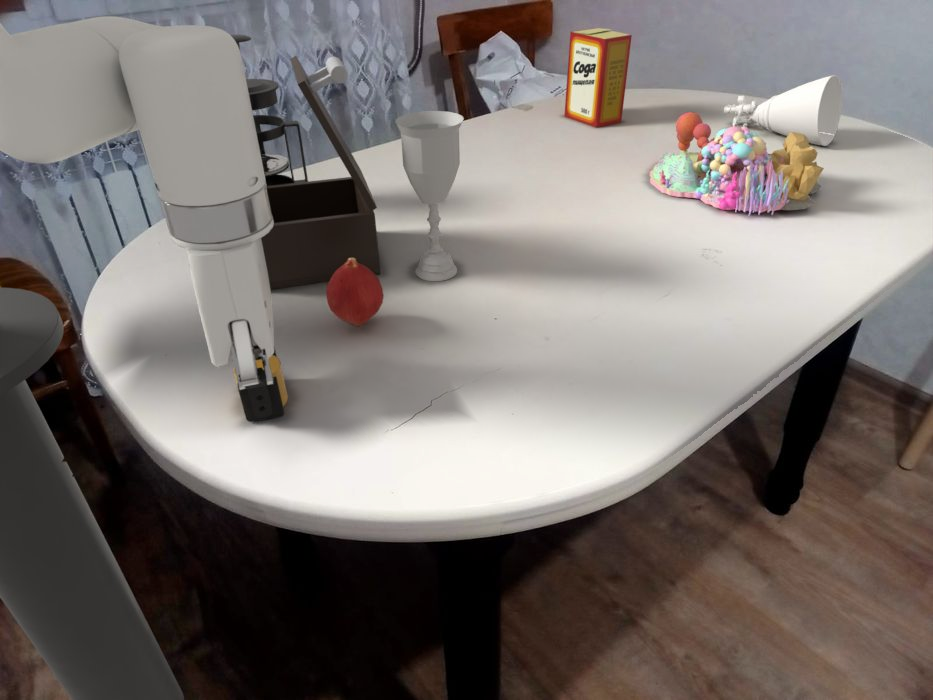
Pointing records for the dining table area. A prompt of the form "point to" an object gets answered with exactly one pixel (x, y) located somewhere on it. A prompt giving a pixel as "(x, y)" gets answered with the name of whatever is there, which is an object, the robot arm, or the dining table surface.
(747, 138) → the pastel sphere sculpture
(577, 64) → the baking soda box
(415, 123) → the chalice
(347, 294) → the red fruit
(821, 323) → the dining table surface
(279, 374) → the pod
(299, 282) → the dark brown wooden crate
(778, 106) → the rocket engine
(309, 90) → the wooden box lid
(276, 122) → the french press
